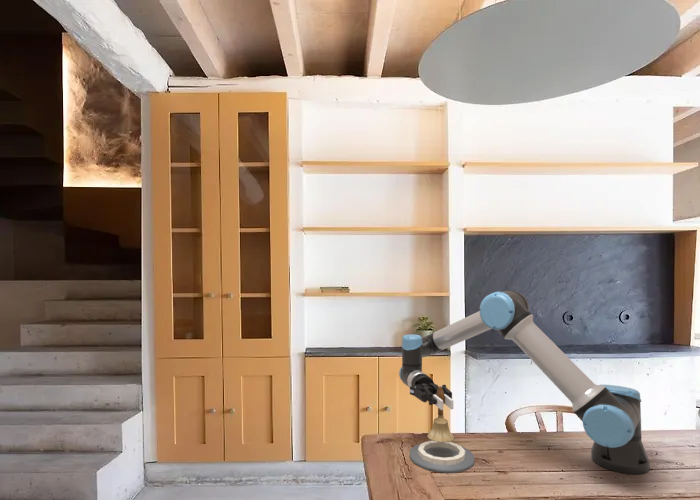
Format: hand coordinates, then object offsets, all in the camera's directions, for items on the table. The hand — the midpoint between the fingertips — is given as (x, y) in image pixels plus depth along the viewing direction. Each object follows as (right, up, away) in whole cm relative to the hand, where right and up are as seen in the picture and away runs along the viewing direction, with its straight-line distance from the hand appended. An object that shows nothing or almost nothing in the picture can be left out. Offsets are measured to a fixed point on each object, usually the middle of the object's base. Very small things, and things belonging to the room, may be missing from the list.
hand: (447, 405), depth 132 cm
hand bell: (-1, -12, +5) cm, 13 cm away
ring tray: (-1, -18, +5) cm, 19 cm away
